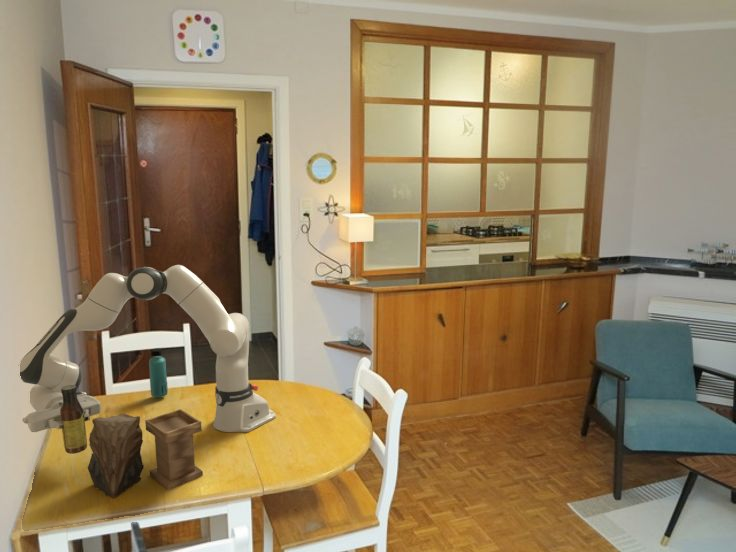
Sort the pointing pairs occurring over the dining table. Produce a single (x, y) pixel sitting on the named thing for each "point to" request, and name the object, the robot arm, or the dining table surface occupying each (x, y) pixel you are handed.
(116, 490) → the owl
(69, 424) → the sauce bottle
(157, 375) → the beverage bottle
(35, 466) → the dining table surface
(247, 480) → the dining table surface
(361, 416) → the dining table surface
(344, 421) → the dining table surface
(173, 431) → the display stand
